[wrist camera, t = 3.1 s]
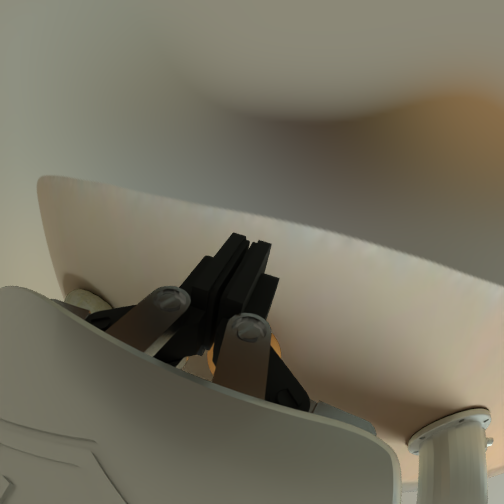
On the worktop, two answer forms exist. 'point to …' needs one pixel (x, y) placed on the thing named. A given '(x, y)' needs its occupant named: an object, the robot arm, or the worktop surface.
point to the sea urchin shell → (86, 301)
